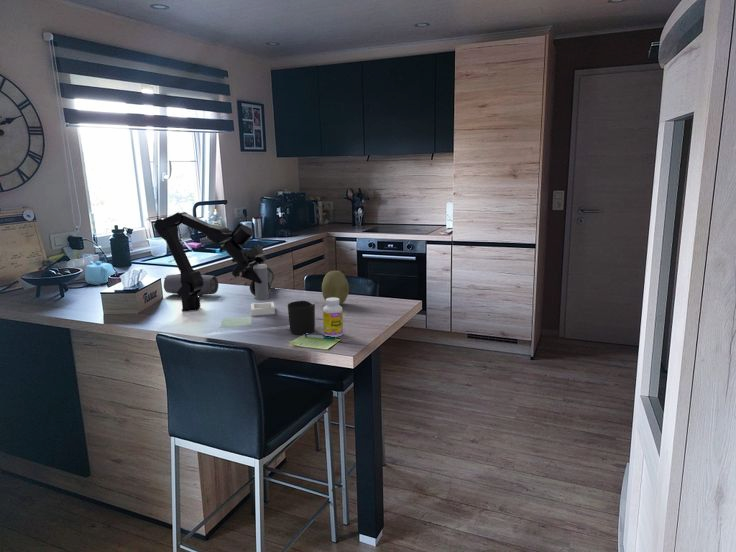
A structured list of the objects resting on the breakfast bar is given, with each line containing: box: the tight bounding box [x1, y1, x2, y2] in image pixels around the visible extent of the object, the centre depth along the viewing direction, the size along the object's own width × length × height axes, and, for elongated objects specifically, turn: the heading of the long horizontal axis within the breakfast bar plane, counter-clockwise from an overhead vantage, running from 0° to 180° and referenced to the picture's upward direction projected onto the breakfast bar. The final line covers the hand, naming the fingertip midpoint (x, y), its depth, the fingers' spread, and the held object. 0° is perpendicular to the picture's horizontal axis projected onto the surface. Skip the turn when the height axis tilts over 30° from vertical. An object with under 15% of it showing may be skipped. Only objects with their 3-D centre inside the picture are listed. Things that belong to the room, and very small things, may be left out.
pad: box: [220, 316, 253, 328], centre depth 189 cm, size 11×11×1 cm
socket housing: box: [250, 301, 276, 317], centre depth 201 cm, size 9×9×4 cm
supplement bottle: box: [322, 297, 344, 338], centre depth 173 cm, size 7×7×13 cm
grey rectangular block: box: [254, 263, 270, 300], centre depth 199 cm, size 5×5×13 cm
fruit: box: [321, 269, 350, 306], centre depth 211 cm, size 11×11×15 cm
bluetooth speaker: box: [163, 273, 219, 297], centre depth 232 cm, size 23×9×10 cm, turn 80°
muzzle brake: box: [249, 265, 275, 297], centre depth 237 cm, size 10×28×10 cm, turn 7°
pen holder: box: [287, 300, 316, 336], centre depth 178 cm, size 9×9×10 cm
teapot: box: [84, 260, 116, 286], centre depth 262 cm, size 12×18×12 cm
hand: (264, 281), depth 198 cm, fingers closed on grey rectangular block, 5 cm apart
